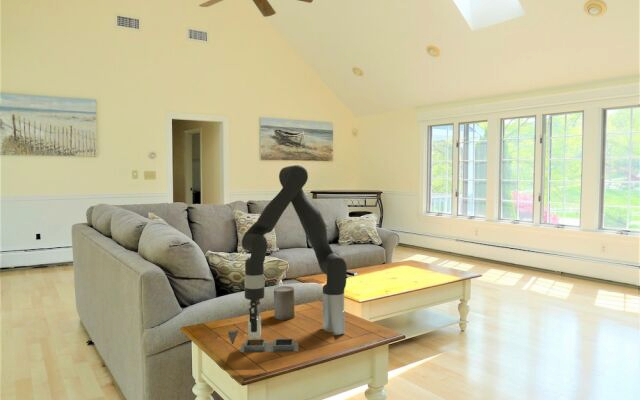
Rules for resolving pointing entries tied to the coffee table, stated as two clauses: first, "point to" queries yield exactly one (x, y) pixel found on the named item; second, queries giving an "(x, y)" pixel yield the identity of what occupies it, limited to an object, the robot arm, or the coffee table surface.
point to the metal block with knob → (258, 333)
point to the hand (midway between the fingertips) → (254, 329)
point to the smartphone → (233, 335)
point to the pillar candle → (284, 302)
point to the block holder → (269, 345)
